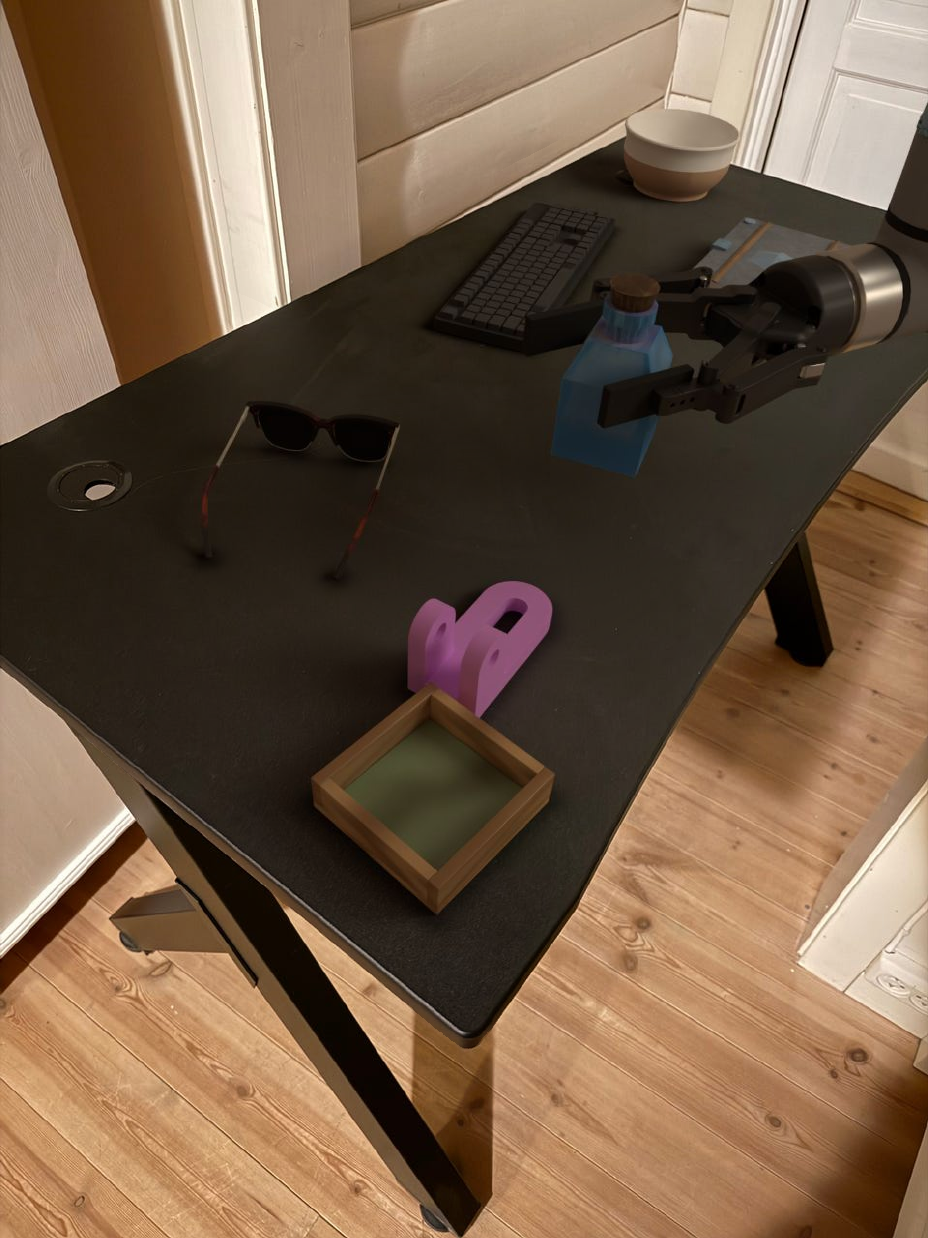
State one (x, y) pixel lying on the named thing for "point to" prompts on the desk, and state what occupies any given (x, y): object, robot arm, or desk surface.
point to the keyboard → (526, 274)
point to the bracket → (476, 643)
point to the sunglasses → (300, 428)
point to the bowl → (678, 152)
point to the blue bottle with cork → (612, 378)
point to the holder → (432, 794)
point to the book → (759, 251)
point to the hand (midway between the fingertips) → (563, 370)
